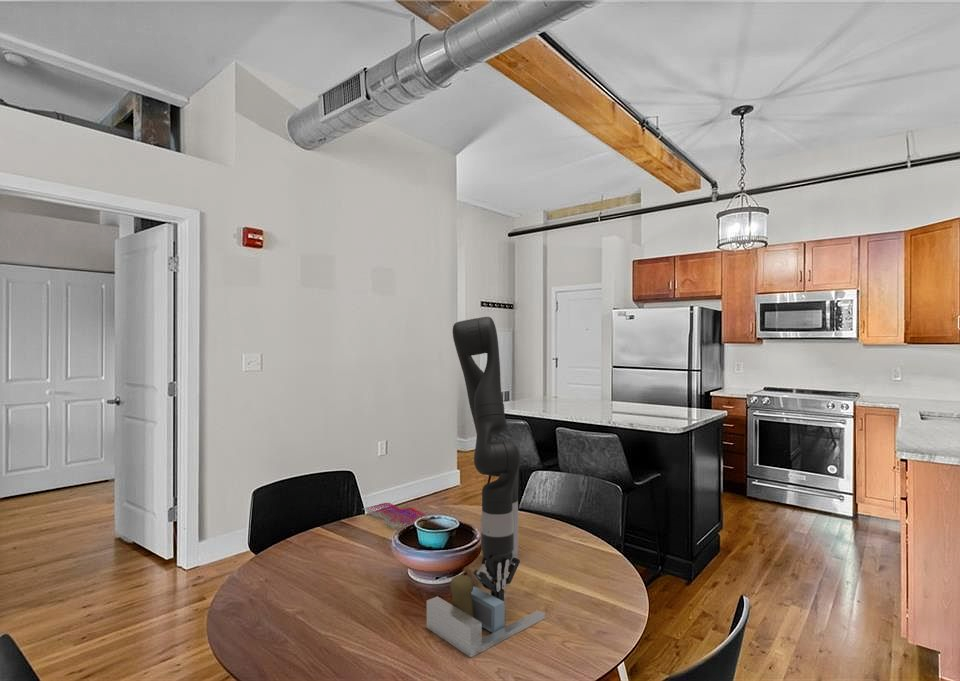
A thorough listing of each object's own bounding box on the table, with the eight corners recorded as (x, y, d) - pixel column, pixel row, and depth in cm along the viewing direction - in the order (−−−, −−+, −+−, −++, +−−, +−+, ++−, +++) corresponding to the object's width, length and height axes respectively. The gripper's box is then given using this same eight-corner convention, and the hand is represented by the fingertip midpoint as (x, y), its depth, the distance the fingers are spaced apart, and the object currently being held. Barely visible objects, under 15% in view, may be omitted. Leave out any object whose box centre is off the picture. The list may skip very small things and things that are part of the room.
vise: (426, 627, 117) (426, 600, 117) (499, 595, 132) (499, 571, 132) (470, 657, 106) (470, 627, 106) (544, 618, 121) (544, 592, 121)
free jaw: (464, 616, 121) (464, 590, 121) (474, 612, 123) (474, 586, 123) (494, 634, 114) (494, 606, 114) (504, 629, 116) (504, 602, 116)
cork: (475, 634, 114) (475, 583, 114) (448, 634, 114) (447, 584, 114) (475, 619, 120) (475, 571, 120) (448, 620, 120) (448, 571, 120)
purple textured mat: (360, 515, 195) (360, 501, 195) (396, 507, 204) (396, 493, 204) (400, 538, 171) (400, 522, 171) (439, 528, 181) (439, 513, 181)
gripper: (487, 541, 114) (487, 621, 114) (528, 526, 123) (529, 601, 122) (464, 532, 119) (465, 608, 119) (506, 519, 128) (506, 590, 128)
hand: (497, 605), depth 121 cm, fingers closed
